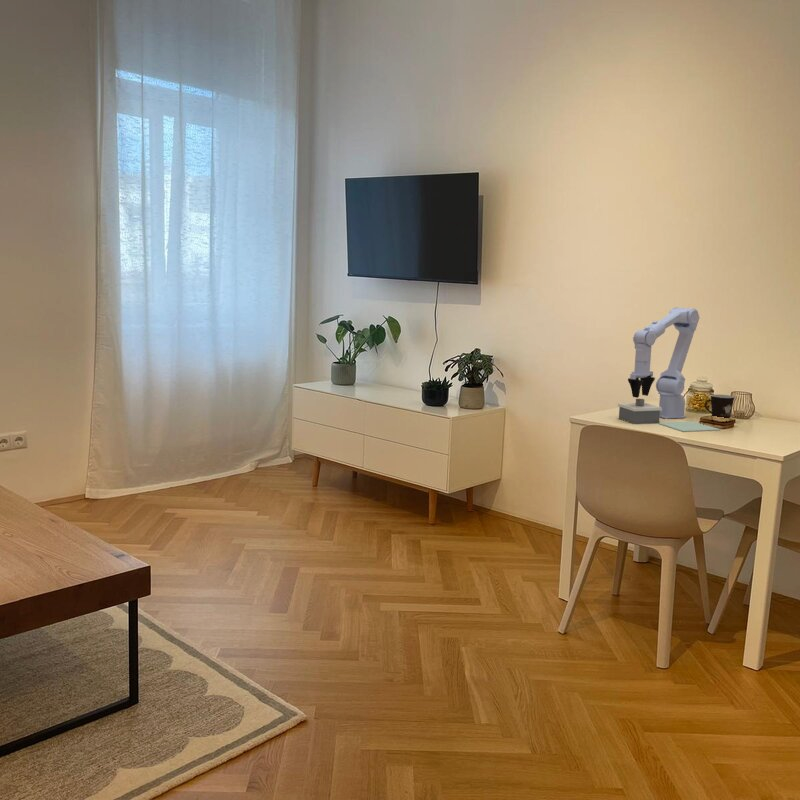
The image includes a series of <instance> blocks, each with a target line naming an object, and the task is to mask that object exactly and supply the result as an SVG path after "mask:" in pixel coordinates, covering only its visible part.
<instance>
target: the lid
mask: <svg viewBox="0 0 800 800" xmlns="http://www.w3.org/2000/svg"><path fill="white" fill-rule="evenodd" d="M617 407H619V408H620V407H622V408H625V409H629V410H632V411H659V410H662V408H661V407H659V406H658V405H657V406H656V405H654V404H650V403H646V402H645V399H644V398H635V402H628V403H625V402H624V403H617Z"/></svg>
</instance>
